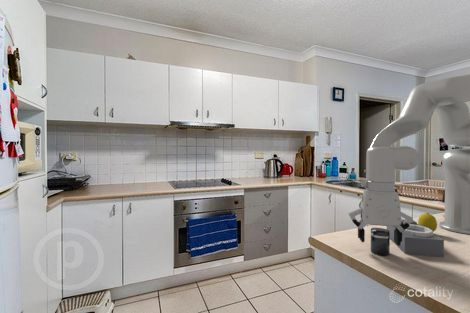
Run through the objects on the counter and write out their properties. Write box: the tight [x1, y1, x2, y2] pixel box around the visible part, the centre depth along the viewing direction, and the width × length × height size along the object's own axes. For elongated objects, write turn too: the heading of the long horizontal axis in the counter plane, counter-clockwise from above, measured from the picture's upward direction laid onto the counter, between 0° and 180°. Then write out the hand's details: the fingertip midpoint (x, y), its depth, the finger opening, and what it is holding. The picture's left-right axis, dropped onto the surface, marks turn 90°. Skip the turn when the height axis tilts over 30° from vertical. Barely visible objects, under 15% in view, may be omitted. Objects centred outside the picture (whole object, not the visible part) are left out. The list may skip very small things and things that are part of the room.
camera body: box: [386, 218, 445, 258], centre depth 79 cm, size 16×10×6 cm, turn 165°
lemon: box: [417, 212, 438, 233], centre depth 89 cm, size 6×6×8 cm
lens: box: [370, 227, 391, 257], centre depth 74 cm, size 5×5×7 cm
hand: (379, 242), depth 74 cm, fingers open, 9 cm apart
